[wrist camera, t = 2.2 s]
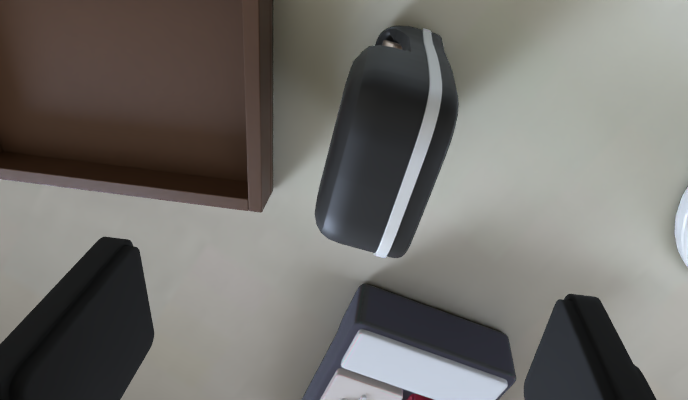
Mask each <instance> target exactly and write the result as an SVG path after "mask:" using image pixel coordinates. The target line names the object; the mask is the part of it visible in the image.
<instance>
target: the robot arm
mask: <svg viewBox="0 0 688 400" xmlns="http://www.w3.org/2000/svg"><path fill="white" fill-rule="evenodd" d="M674 234H675V239H676V244H677V249H678V251H679V253H680V255H681V257H682V259H683V261H684V263H685V264H686V266H687V267H688V187H687V189H686V191H685V192H684V194H683V196H682V198H681V201H680V204H679V207H678V210H677V214H676V219H675V232H674ZM153 338H154V329H153V323H152V318H151V312H150V306H149V301H148V295H147V290H146V284H145V278H144V273H143V267H142V262H141V256H140V251H139V249H138V248H137V247H133V244H132V242H131V241H130V240H127V239H119V238H111V237H102V238H100V239H99V240H98V241H97V242H96V243H95V244H94V245H93V246H92V247H91V248H90V250H89V251H88V252H87V253H86V254H85V255H84V256H83V257H82V258H81V259H80V260H79V261H78V262H77V263H76V264H75V265H74V267H73V268H72V269H71V270H70V271H69V272H68V273H67V274H66V275H65V276H64V277H63V278H62V279H61V280H60V281H59V282H58V284H57V285H56V286H55V287H54V288H53V289H52V290H51V291H50V292H49V293H48V294H47V295H46V296H45V297H44V298H43V299H42V301H41V302H40V303H39V304H38V305H37V306H36V307H35V308H34V309H33V310H32V311H31V312H30V313H29V314H28V315H27V316H26V318H25V319H24V320H23V321H22V322H21V323H20V324H19V325H18V326H17V327H16V328H15V329H14V330H13V331H12V332H11V334H10V335H9V336H8V337H7V338H6V339H5V340H4V341H3V342H2V343H1V344H0V400H120V399H121V397H122V396H123V394H124V392H125V390H126V389H127V387H128V385H129V384H130V382H131V380H132V378H133V377H134V375H135V373H136V372H137V370H138V368H139V366H140V365H141V363H142V361H143V360H144V358H145V356H146V354H147V353H148V351H149V349H150V347H151V345H152V342H153ZM524 398H525V400H656V398H655V396H654V394H653V392H652V390H651V388H650V387H649V385H648V383H647V381H646V379H645V377H644V375H643V374H642V372H641V371H640V369H639V368H638V367H636V366H635V365H634V364H633V362H632V360H631V359H630V357H629V355H628V353H627V351H626V349H625V347H624V345H623V343H622V341H621V339H620V337H619V335H618V333H617V332H616V330H615V328H614V326H613V324H612V322H611V320H610V318H609V316H608V314H607V312H606V310H605V308H604V306H603V305H602V303H601V301H600V300H599V298H597V297H592V296H584V295H576V294H568V295H567V296H566V297H565V299H564V300H561V299H560V300H558V301H557V302H556V304H555V306H554V308H553V311H552V313H551V316H550V318H549V321H548V324H547V326H546V329H545V331H544V334H543V336H542V339H541V341H540V344H539V346H538V349H537V351H536V354H535V356H534V359H533V362H532V364H531V367H530V369H529V372H528V374H527V377H526V379H525V383H524Z"/></svg>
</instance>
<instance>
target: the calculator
mask: <svg viewBox="0 0 688 400" xmlns="http://www.w3.org/2000/svg"><path fill="white" fill-rule="evenodd" d="M515 381H516V375H515V369H514V364H513V359H512V354H511V348H510V343H509V339H508V336H507V335H506V334H504V333H501V332H498V331H495V330H493V329H490V328H487V327H484V326H482V325H479V324H476V323H473V322H471V321H468V320H465V319H462V318H459V317H457V316H454V315H451V314H448V313H446V312H443V311H440V310H437V309H435V308H432V307H429V306H426V305H423V304H421V303H418V302H415V301H412V300H410V299H407V298H404V297H401V296H399V295H396V294H393V293H390V292H387V291H385V290H382V289H379V288H376V287H374V286H371V285H368V284H362V285H360V286H359V288H358V290H357V292H356V294H355V295H354V297H353V299H352V301H351V303H350V305H349V307H348V309H347V311H346V313H345V315H344V317H343V319H342V321H341V324H340V327H339V329H338V332H337V334H336V336H335V338H334V340H333V342H332V343H331V345H330V347H329V349H328V351H327V353H326V355H325V357H324V359H323V361H322V362H321V364H320V366H319V368H318V370H317V372H316V374H315V376H314V378H313V379H312V381H311V383H310V385H309V387H308V389H307V391H306V393H305V395H304V397H303V398H302V400H498V399H499V398H500V397H501V396H502V395H503V394H504V393H505V392H506V391H507V390H508V389H509V388H510V387H511V386H512V384H513V383H514V382H515Z"/></svg>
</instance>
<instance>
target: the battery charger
mask: <svg viewBox="0 0 688 400" xmlns="http://www.w3.org/2000/svg"><path fill="white" fill-rule="evenodd" d="M458 106H459V103H458V95H457V90H456V85H455V80H454V76H453V72H452V69H451V66H450V64H449V61H448V59H447V56H446V54H445V52H444V48H443V44H442V38H441V37H440V36H439V35H437V34H435V33H431V30H427V29H424V28H423V29H422V30H421V29H417V28H414V27H410V26H394V27H390V28H387V29H386V30H384V31H383V32H382V33H381V34H380V35H379V37H378V39H377V42H376V44H375V46H369V47H368V48H367V49H365V50H364V51H362V52H361V54H360V55H359V56H358V57H357V58H356V59H355V60H354V61H353V64H352V67H351V69H350V72H349V75H348V78H347V81H346V84H345V88H344V92H343V96H342V100H341V104H340V108H339V112H338V116H337V120H336V124H335V128H334V131H333V135H332V139H331V143H330V147H329V151H328V155H327V159H326V163H325V167H324V171H323V175H322V179H321V183H320V187H319V192H318V196H317V202H316V209H315V218H316V224H317V226H318V228H319V230H320V231H321V233H322V234H323V235H325V236H326V237H327V238H328V239H330V240H333V241H335V242H338V243H340V244H344V245H348V246H351V247H355V248H359V249H362V250H366V251H370V252H373V254H374V255H375V256H379V257H383V258H385V257H386V256H388V257H392V258H399V257H402V256H403V255H404V254H405V253H406V252H407V250H408V248H409V246H410V244H411V242H412V239H413V237H414V234H415V232H416V230H417V227H418V225H419V222H420V220H421V217H422V215H423V212H424V210H425V207H426V205H427V202H428V200H429V197H430V195H431V192H432V190H433V187H434V184H435V182H436V179H437V177H438V174H439V172H440V169H441V166H442V164H443V161H444V159H445V156H446V153H447V151H448V148H449V145H450V142H451V139H452V136H453V133H454V129H455V125H456V120H457V116H458Z"/></svg>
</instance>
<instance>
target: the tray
mask: <svg viewBox="0 0 688 400" xmlns="http://www.w3.org/2000/svg"><path fill="white" fill-rule="evenodd" d="M0 179H3V180H11V181H19V182H26V183H34V184H42V185H50V186H58V187H65V188H73V189H81V190H89V191H97V192H104V193H112V194H120V195H128V196H136V197H143V198H151V199H159V200H167V201H175V202H183V203H190V204H198V205H206V206H214V207H222V208H229V209H237V210H245V211H248V210H249V211H254V212H262V211H263V209H264V207H265V205H266V203H267V201H268V199H269V197H270V195H271V193H272V191H273V0H0Z"/></svg>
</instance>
